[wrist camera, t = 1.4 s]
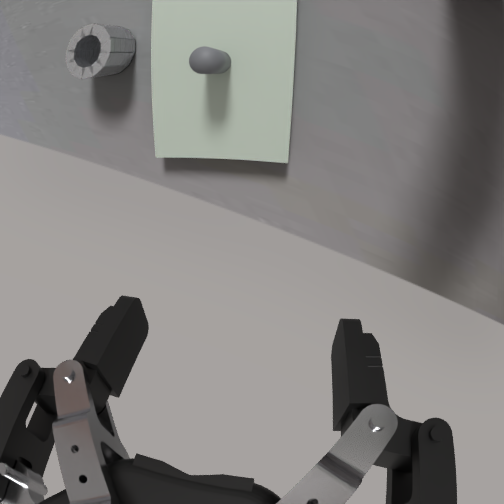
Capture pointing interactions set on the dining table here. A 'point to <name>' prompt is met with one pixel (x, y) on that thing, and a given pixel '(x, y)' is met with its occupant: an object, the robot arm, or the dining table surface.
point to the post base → (223, 78)
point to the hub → (88, 51)
